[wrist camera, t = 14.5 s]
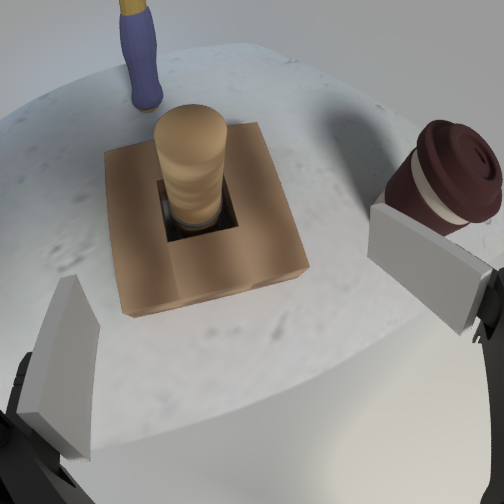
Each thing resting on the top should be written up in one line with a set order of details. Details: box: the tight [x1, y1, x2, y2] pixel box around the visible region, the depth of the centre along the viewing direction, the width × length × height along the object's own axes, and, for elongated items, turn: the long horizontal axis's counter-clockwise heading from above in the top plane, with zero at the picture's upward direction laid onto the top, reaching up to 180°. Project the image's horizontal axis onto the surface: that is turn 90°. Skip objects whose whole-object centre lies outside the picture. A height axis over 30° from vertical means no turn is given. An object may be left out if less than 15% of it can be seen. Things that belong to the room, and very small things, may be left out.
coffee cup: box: [374, 120, 503, 237], centre depth 26 cm, size 10×10×15 cm
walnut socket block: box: [104, 122, 310, 318], centre depth 28 cm, size 16×16×4 cm
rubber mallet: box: [119, 0, 163, 112], centre depth 20 cm, size 12×8×30 cm, turn 18°
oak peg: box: [154, 104, 227, 239], centre depth 24 cm, size 5×5×14 cm
